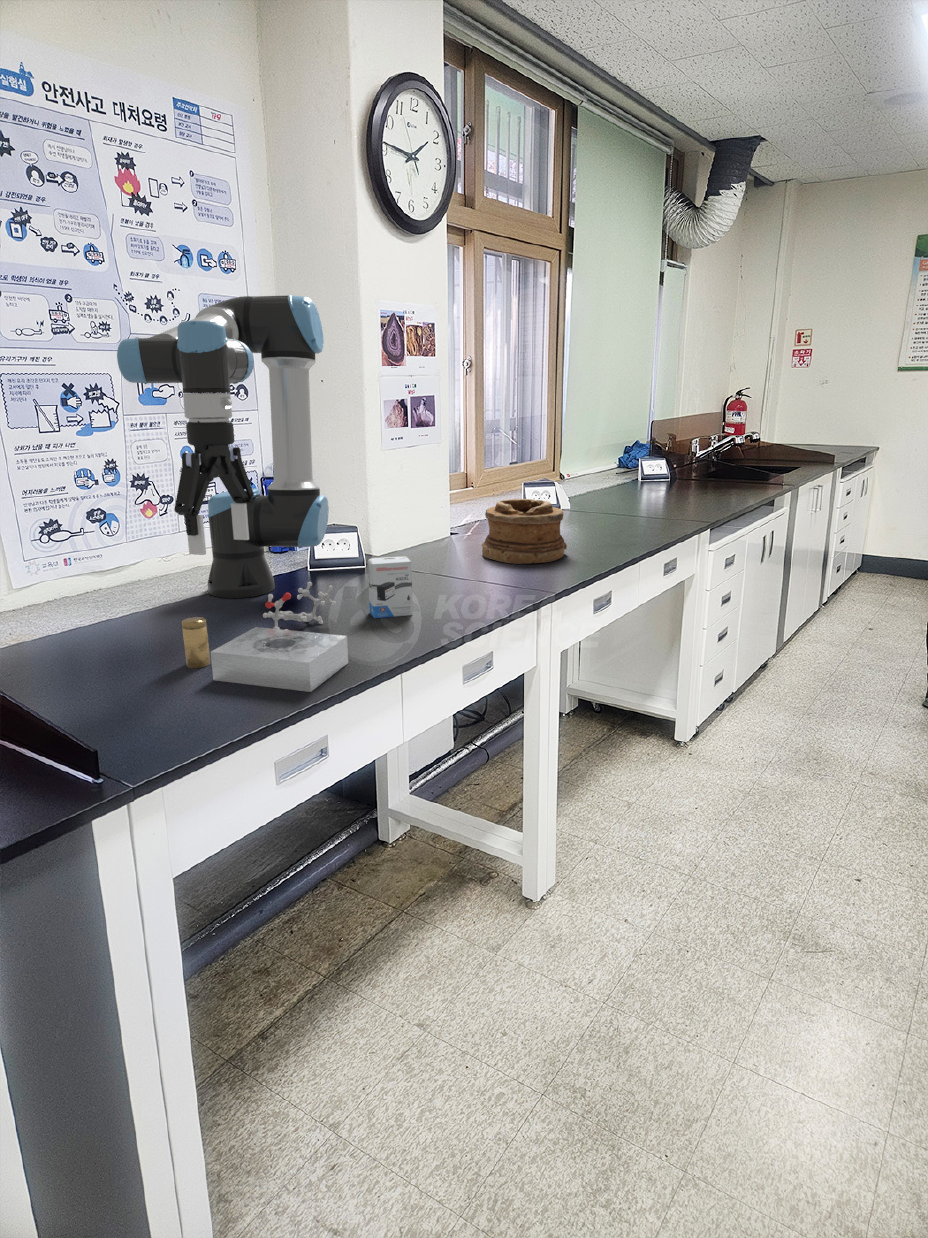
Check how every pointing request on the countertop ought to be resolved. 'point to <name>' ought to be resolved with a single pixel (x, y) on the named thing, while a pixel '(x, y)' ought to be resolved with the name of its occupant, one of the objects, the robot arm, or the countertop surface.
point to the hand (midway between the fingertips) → (220, 546)
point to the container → (524, 532)
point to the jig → (280, 658)
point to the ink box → (390, 587)
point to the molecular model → (302, 616)
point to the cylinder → (196, 642)
